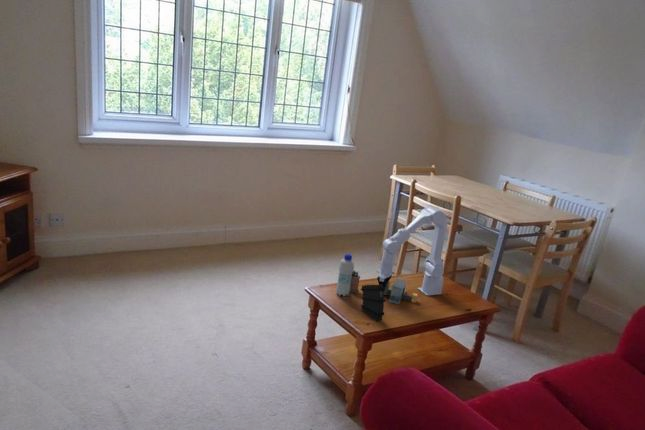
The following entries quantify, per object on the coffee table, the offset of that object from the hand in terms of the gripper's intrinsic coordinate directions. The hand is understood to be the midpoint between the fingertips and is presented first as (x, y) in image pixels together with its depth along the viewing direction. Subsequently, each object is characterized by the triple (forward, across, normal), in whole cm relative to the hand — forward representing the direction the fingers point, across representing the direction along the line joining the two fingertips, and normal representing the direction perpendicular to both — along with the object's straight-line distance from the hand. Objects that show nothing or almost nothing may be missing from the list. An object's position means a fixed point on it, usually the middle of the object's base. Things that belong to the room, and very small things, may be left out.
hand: (382, 289), depth 232 cm
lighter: (+2, +6, -14) cm, 16 cm away
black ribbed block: (+2, +24, 0) cm, 24 cm away
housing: (+1, 0, +8) cm, 8 cm away
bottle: (+2, +13, -16) cm, 21 cm away
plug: (+1, 0, +8) cm, 8 cm away
